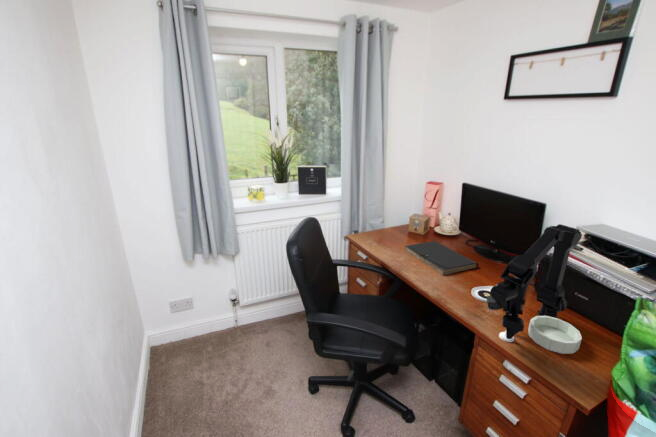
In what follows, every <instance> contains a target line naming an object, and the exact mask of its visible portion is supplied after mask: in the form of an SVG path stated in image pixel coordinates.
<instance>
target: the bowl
mask: <svg viewBox="0 0 656 437" xmlns="http://www.w3.org/2000/svg"><path fill="white" fill-rule="evenodd" d="M528 336H529V337H530V339H532V341H534V343H536V344H537V345H538V346H541V347H542V348H544V349H546V350H548V351H551V352H555V353H559V354H562V355H565V354H575V353H576V352H577V351H578V350H579V349H580V346H581V343H582V339H583V336H582V334H581V332H580V330H579V329H577V328H576V327H575V326H574V325H572V324H571V323H569V322H567V321H564V320H563V319H560V318H558V317H557V318H554V317H549V316H538V315H536V316H534V317H532V318H531V319H530V320H529V324H528Z"/></svg>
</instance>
